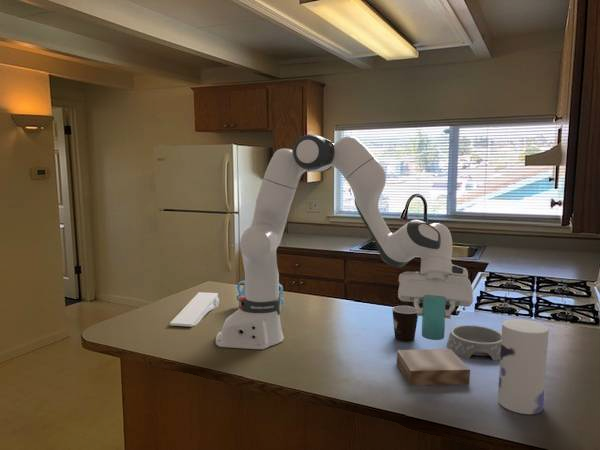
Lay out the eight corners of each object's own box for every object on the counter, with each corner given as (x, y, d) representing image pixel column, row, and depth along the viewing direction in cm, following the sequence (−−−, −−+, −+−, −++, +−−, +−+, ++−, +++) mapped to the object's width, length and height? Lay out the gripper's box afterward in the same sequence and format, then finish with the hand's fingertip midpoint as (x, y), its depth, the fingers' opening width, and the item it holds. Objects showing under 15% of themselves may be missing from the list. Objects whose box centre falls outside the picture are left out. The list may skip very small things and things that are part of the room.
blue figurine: (271, 301, 201) (271, 270, 199) (286, 312, 186) (286, 278, 185) (234, 306, 194) (234, 273, 192) (247, 317, 179) (246, 282, 178)
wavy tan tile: (410, 385, 125) (410, 370, 124) (396, 363, 139) (397, 350, 138) (469, 384, 125) (470, 369, 125) (450, 362, 139) (450, 349, 139)
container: (490, 395, 119) (494, 318, 117) (527, 393, 120) (533, 317, 118) (511, 416, 110) (516, 333, 107) (551, 414, 110) (558, 332, 108)
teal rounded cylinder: (425, 340, 127) (427, 300, 126) (419, 332, 133) (420, 294, 132) (447, 339, 128) (449, 300, 126) (439, 332, 134) (441, 294, 132)
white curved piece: (192, 343, 169) (218, 309, 196) (196, 325, 167) (221, 294, 193) (166, 335, 170) (196, 303, 197) (169, 317, 168) (198, 287, 194)
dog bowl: (513, 363, 140) (515, 345, 139) (449, 357, 143) (450, 340, 142) (501, 341, 156) (502, 326, 156) (443, 337, 160) (444, 322, 159)
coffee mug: (418, 344, 153) (419, 314, 152) (391, 342, 155) (392, 312, 154) (416, 331, 165) (417, 304, 163) (391, 330, 166) (392, 302, 165)
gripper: (399, 265, 138) (394, 307, 130) (473, 269, 132) (473, 314, 124) (400, 276, 143) (395, 317, 135) (471, 281, 137) (471, 325, 129)
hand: (433, 316), depth 129 cm, fingers closed on teal rounded cylinder, 6 cm apart
